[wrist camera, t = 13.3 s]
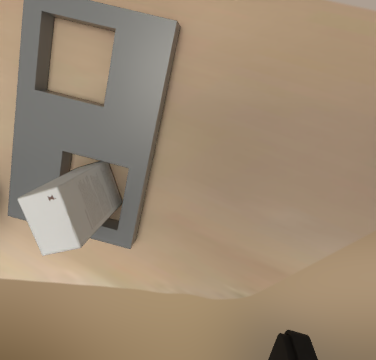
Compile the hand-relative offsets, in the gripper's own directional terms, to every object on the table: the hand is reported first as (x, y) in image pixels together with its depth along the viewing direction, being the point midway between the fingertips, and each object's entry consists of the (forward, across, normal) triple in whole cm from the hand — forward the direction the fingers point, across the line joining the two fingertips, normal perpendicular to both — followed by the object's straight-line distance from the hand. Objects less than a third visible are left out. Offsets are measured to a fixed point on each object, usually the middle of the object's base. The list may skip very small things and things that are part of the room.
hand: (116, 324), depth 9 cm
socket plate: (+28, +13, 0) cm, 31 cm away
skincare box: (+28, +11, +7) cm, 31 cm away
